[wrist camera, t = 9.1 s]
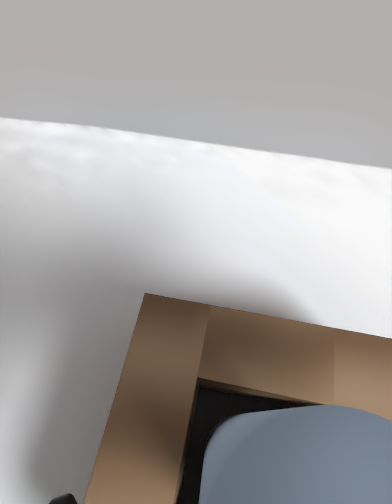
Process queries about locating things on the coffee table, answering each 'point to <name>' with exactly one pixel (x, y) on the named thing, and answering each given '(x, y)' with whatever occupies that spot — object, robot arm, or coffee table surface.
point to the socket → (221, 385)
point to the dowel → (299, 458)
